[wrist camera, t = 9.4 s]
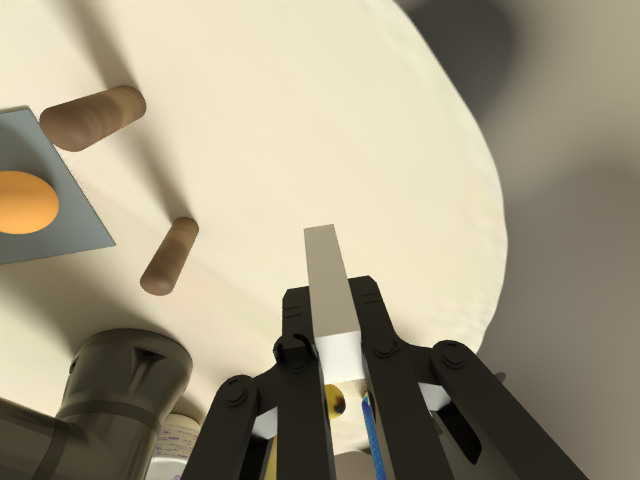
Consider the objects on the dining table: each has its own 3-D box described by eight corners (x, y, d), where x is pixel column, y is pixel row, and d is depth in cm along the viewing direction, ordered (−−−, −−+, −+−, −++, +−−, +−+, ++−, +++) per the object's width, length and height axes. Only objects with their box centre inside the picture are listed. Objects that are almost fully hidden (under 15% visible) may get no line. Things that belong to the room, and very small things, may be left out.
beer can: (354, 389, 54) (377, 503, 41) (400, 376, 53) (438, 488, 40) (366, 410, 59) (390, 519, 45) (408, 398, 58) (445, 506, 44)
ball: (17, 251, 25) (83, 218, 29) (-34, 191, 22) (47, 163, 26) (-11, 240, 27) (53, 210, 31) (-62, 184, 24) (17, 159, 28)
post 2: (179, 239, 33) (148, 297, 26) (169, 219, 32) (134, 275, 24) (202, 235, 33) (178, 292, 26) (193, 215, 32) (165, 270, 24)
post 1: (121, 121, 26) (57, 154, 19) (105, 88, 25) (29, 110, 17) (151, 116, 26) (98, 148, 19) (137, 83, 25) (73, 103, 17)
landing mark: (-12, 265, 33) (-13, 266, 33) (-139, 135, 25) (-141, 136, 25) (116, 244, 33) (115, 245, 33) (29, 108, 25) (28, 109, 25)
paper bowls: (198, 449, 61) (187, 499, 55) (116, 437, 56) (93, 491, 49) (227, 413, 54) (219, 464, 48) (137, 395, 49) (115, 451, 42)
